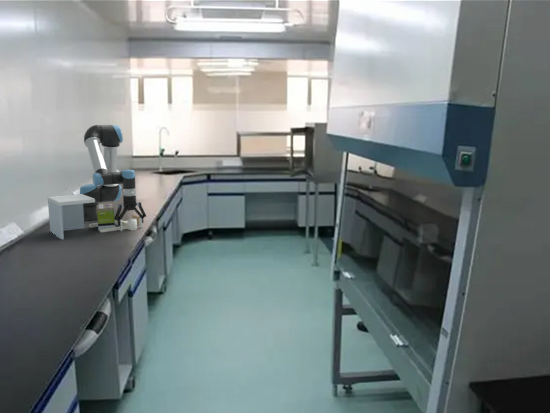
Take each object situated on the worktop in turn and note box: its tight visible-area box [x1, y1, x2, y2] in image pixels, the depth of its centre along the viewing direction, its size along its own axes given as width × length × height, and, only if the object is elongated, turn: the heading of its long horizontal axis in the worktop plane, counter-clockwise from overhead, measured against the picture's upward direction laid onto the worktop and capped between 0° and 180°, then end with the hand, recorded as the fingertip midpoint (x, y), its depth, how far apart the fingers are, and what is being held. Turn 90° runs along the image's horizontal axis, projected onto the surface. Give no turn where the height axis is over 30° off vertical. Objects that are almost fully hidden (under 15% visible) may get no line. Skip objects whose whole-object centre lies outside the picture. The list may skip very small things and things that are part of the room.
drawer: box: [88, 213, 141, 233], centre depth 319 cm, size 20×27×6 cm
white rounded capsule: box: [127, 218, 138, 231], centre depth 312 cm, size 5×5×7 cm
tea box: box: [96, 203, 116, 232], centre depth 315 cm, size 15×10×15 cm, turn 21°
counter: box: [47, 193, 95, 240], centre depth 302 cm, size 24×20×22 cm
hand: (131, 229), depth 313 cm, fingers open, 12 cm apart
